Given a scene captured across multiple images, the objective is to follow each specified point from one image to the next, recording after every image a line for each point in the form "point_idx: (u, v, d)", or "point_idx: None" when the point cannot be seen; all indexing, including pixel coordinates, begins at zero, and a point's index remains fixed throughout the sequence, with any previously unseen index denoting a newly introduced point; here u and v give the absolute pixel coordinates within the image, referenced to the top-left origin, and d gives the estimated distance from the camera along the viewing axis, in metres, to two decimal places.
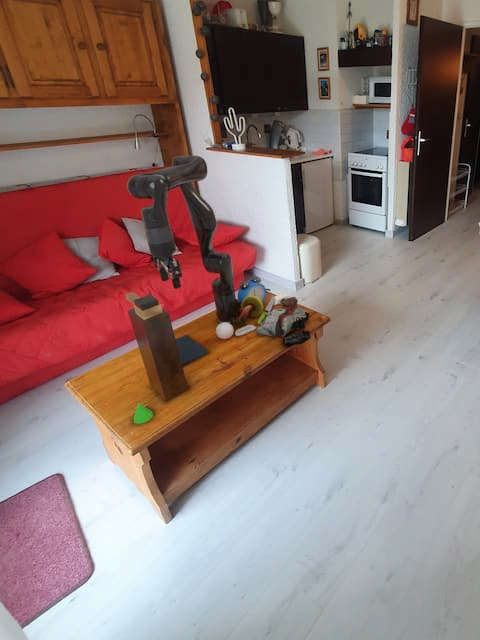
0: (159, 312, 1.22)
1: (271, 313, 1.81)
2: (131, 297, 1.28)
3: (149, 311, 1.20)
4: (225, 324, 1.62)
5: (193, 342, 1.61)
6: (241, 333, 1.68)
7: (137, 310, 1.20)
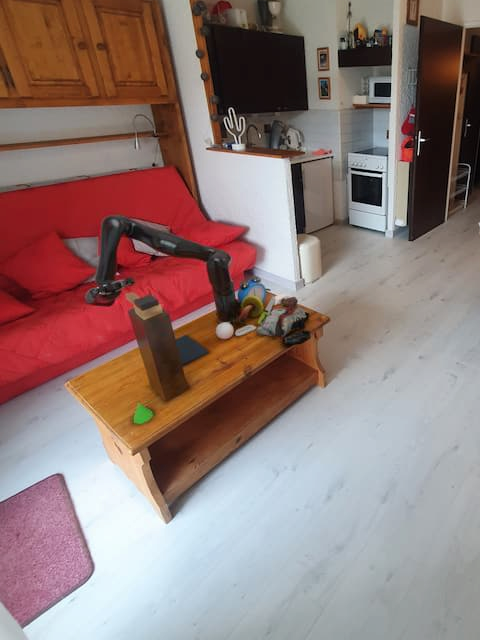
0: (159, 312, 1.22)
1: (271, 313, 1.81)
2: (131, 297, 1.28)
3: (149, 311, 1.20)
4: (225, 324, 1.62)
5: (193, 342, 1.61)
6: (241, 333, 1.68)
7: (137, 310, 1.20)
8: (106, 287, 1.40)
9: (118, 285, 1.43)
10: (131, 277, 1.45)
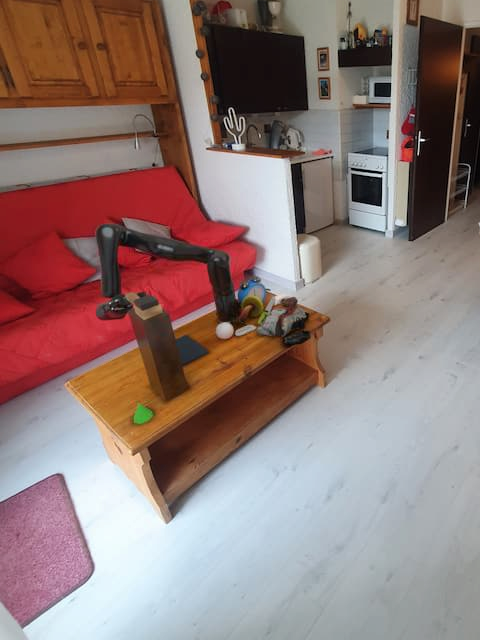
0: (159, 312, 1.22)
1: (271, 313, 1.81)
2: (131, 297, 1.28)
3: (149, 311, 1.20)
4: (225, 324, 1.62)
5: (193, 342, 1.61)
6: (241, 333, 1.68)
7: (137, 310, 1.20)
8: (118, 302, 1.36)
9: None
10: (143, 291, 1.40)
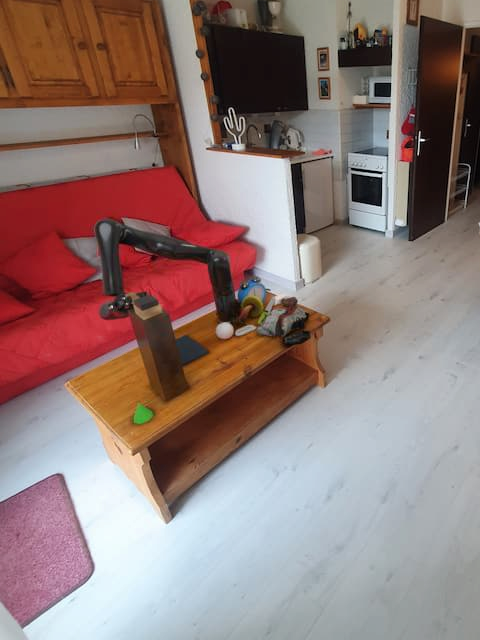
0: (159, 312, 1.22)
1: (271, 313, 1.81)
2: (131, 297, 1.28)
3: (149, 311, 1.20)
4: (225, 324, 1.62)
5: (193, 342, 1.61)
6: (241, 333, 1.68)
7: (137, 310, 1.20)
8: None
9: None
10: (141, 292, 1.33)
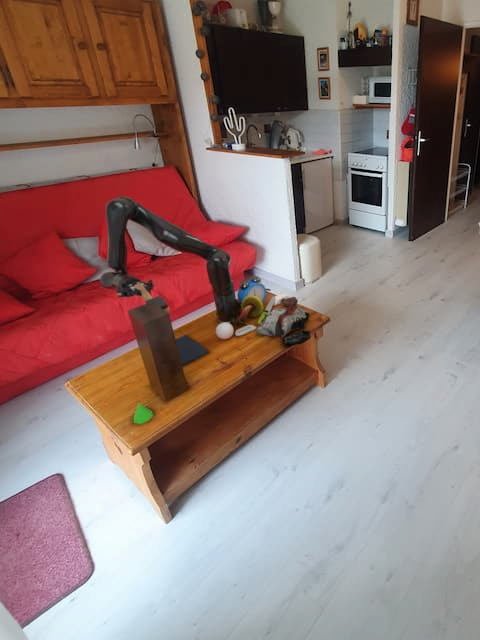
0: None
1: (271, 313, 1.81)
2: (140, 290, 1.41)
3: None
4: (225, 324, 1.62)
5: (193, 342, 1.61)
6: (241, 333, 1.68)
7: None
8: None
9: None
10: (148, 284, 1.45)
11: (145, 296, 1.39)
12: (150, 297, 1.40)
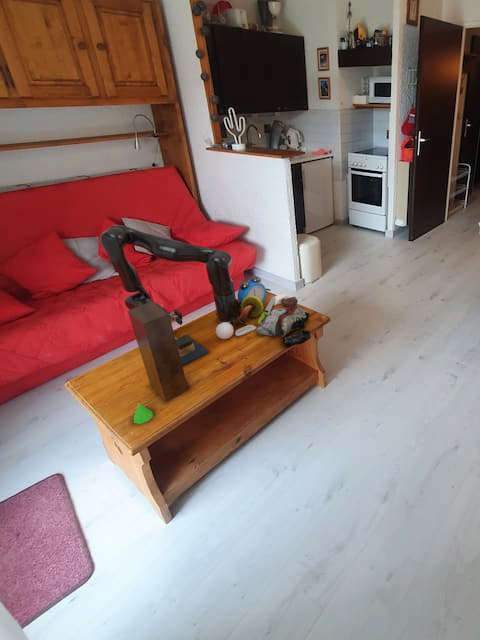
0: (192, 350, 1.55)
1: (271, 313, 1.81)
2: None
3: (185, 350, 1.53)
4: (225, 324, 1.62)
5: (193, 342, 1.61)
6: (241, 333, 1.68)
7: None
8: None
9: None
10: (180, 314, 1.62)
11: None
12: None
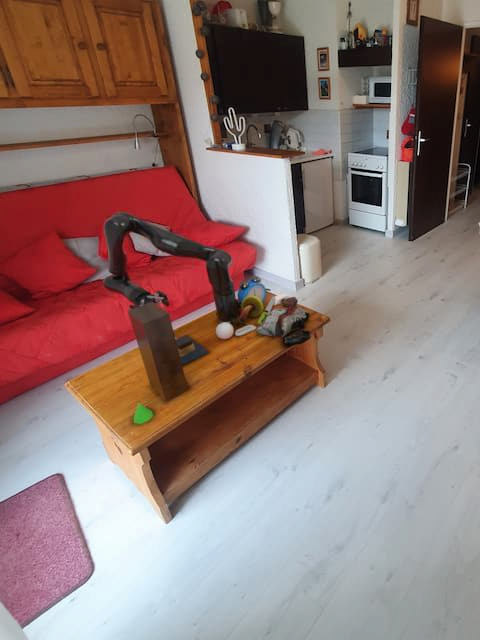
0: (192, 350, 1.55)
1: (271, 313, 1.81)
2: None
3: (185, 350, 1.53)
4: (225, 324, 1.62)
5: (193, 342, 1.61)
6: (241, 333, 1.68)
7: None
8: None
9: (154, 302, 1.66)
10: (166, 296, 1.67)
11: None
12: None
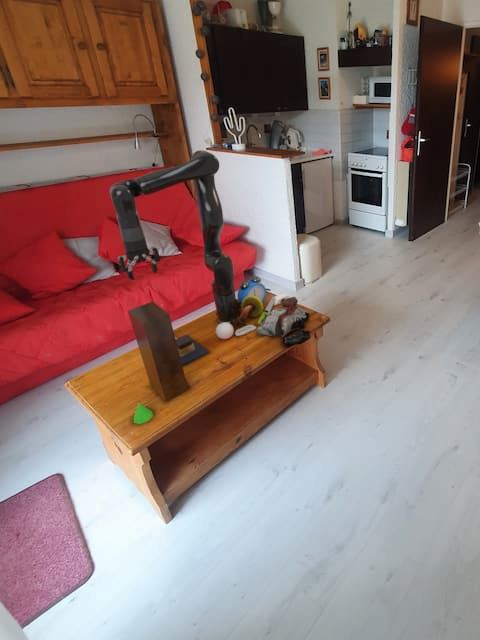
0: (192, 350, 1.55)
1: (271, 313, 1.81)
2: None
3: (185, 350, 1.53)
4: (225, 324, 1.62)
5: (193, 342, 1.61)
6: (241, 333, 1.68)
7: None
8: None
9: None
10: None
11: None
12: None
